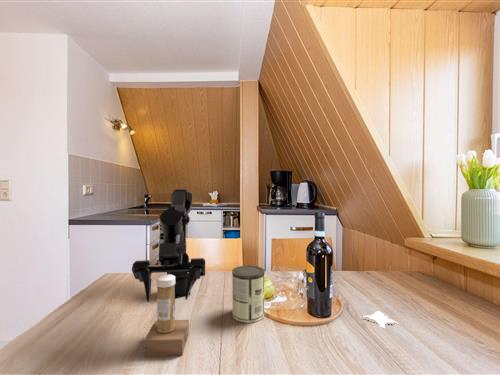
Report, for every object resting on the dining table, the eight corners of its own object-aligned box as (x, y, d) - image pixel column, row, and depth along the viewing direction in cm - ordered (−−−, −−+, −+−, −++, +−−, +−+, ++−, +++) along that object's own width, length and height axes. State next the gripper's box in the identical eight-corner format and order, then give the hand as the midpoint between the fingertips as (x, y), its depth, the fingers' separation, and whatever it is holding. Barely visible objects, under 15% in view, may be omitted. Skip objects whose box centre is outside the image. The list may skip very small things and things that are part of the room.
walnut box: (155, 335, 71) (155, 320, 71) (188, 334, 71) (188, 319, 71) (143, 356, 62) (144, 340, 62) (182, 355, 63) (182, 338, 62)
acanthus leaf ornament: (362, 320, 81) (362, 314, 81) (375, 315, 84) (375, 309, 84) (385, 332, 74) (385, 325, 74) (398, 325, 78) (398, 319, 78)
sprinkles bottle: (178, 326, 68) (179, 275, 68) (166, 336, 64) (167, 281, 63) (165, 322, 70) (165, 272, 69) (152, 331, 65) (152, 278, 65)
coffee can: (240, 304, 89) (241, 263, 89) (269, 310, 85) (269, 267, 85) (225, 318, 80) (226, 272, 80) (256, 326, 76) (256, 278, 76)
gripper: (133, 230, 69) (120, 288, 58) (205, 229, 72) (205, 284, 61) (140, 252, 77) (130, 307, 66) (205, 250, 80) (205, 302, 69)
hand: (167, 300), depth 65 cm, fingers open, 9 cm apart
